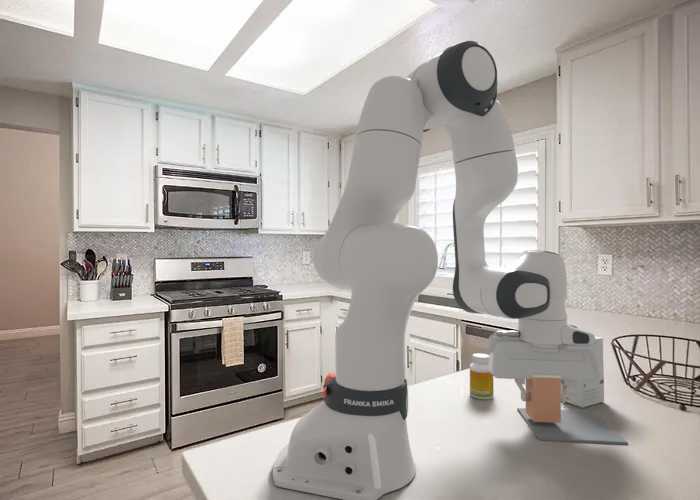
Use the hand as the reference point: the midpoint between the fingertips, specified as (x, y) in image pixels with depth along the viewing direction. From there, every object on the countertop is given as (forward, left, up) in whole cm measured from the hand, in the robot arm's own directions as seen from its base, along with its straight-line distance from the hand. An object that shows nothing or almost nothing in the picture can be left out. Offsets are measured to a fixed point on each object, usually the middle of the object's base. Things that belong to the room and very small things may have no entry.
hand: (542, 401), depth 80 cm
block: (0, 0, -3) cm, 3 cm away
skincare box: (+13, +14, -5) cm, 20 cm away
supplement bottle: (-9, +15, -5) cm, 18 cm away
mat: (+5, 0, -5) cm, 7 cm away
